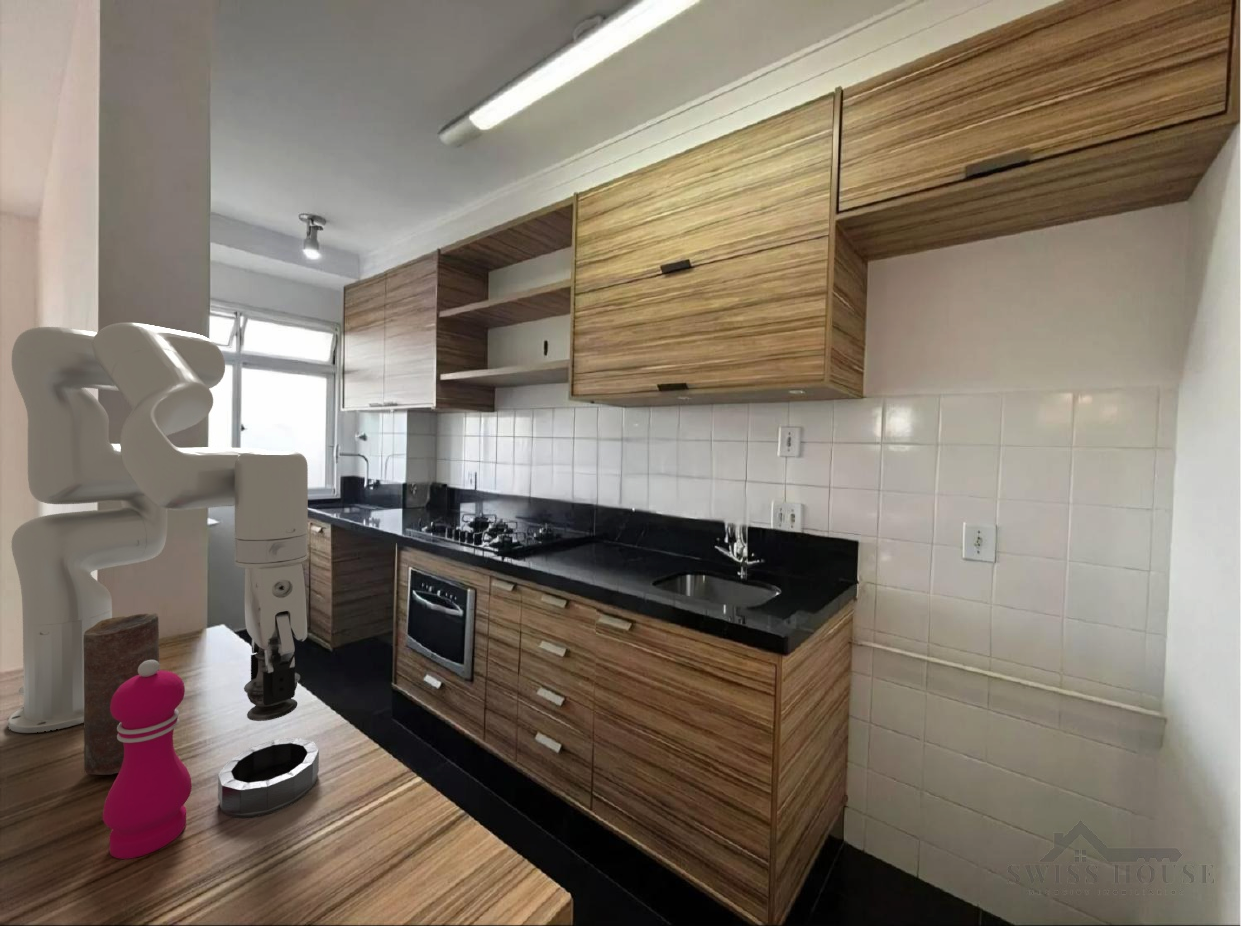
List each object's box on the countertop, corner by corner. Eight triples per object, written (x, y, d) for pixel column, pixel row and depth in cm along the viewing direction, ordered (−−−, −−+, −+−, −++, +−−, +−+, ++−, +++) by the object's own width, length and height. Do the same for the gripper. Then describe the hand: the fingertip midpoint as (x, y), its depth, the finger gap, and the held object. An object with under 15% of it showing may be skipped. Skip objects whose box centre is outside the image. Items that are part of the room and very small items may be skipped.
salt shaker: (272, 725, 61) (272, 626, 60) (231, 718, 62) (231, 621, 62) (311, 701, 67) (311, 611, 66) (273, 695, 68) (273, 606, 67)
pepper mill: (184, 804, 62) (184, 642, 61) (198, 835, 57) (198, 660, 56) (98, 838, 56) (97, 660, 55) (107, 876, 52) (106, 682, 51)
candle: (135, 782, 65) (134, 628, 64) (66, 788, 64) (64, 631, 63) (173, 746, 73) (173, 608, 72) (112, 751, 71) (111, 610, 70)
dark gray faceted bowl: (197, 807, 61) (197, 779, 61) (274, 757, 71) (274, 733, 71) (265, 826, 59) (266, 796, 59) (335, 771, 69) (335, 746, 68)
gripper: (327, 557, 60) (327, 706, 61) (288, 536, 72) (288, 661, 73) (250, 567, 55) (251, 730, 56) (222, 542, 67) (222, 677, 68)
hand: (272, 689), depth 64 cm, fingers closed on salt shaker, 5 cm apart
